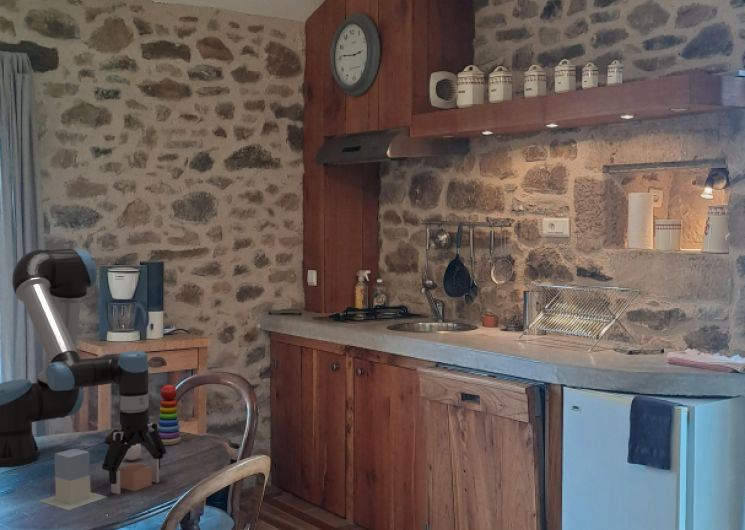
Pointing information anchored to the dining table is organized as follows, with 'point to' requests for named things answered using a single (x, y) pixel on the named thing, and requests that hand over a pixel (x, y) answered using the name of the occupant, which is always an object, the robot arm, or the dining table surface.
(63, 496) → the block
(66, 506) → the plate
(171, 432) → the stacking toy
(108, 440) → the bread roll
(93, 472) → the dining table surface
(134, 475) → the block
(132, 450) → the egg
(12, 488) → the dining table surface
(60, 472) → the block
